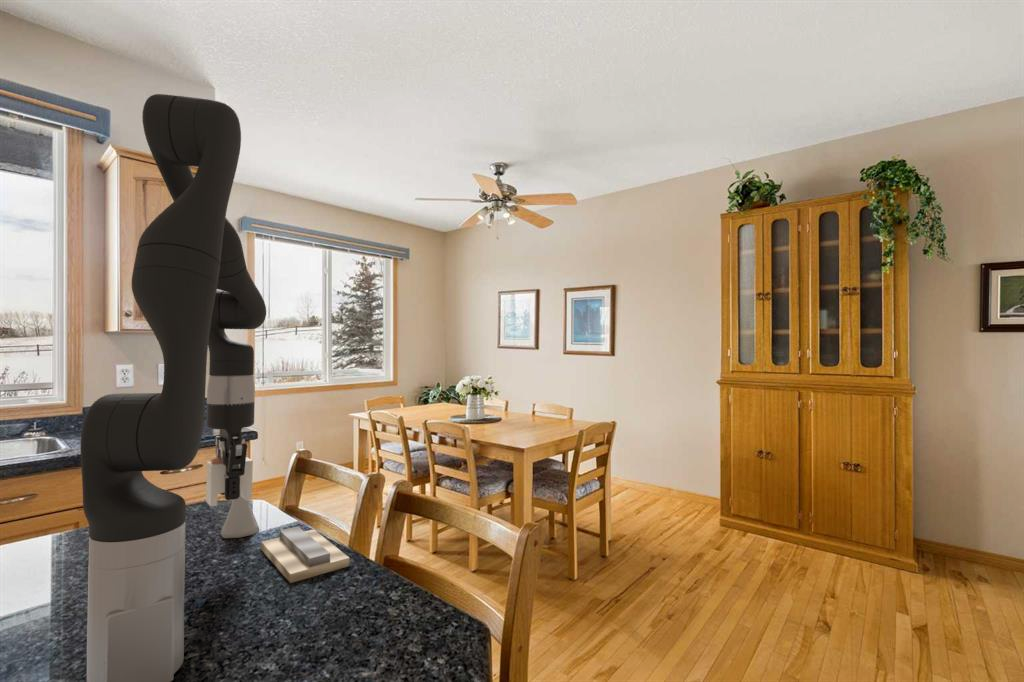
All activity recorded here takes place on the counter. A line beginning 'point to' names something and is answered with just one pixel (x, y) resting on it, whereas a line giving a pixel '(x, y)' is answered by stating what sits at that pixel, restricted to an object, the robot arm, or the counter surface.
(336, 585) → the counter surface
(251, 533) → the flask
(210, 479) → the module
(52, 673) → the counter surface
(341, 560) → the rail board
